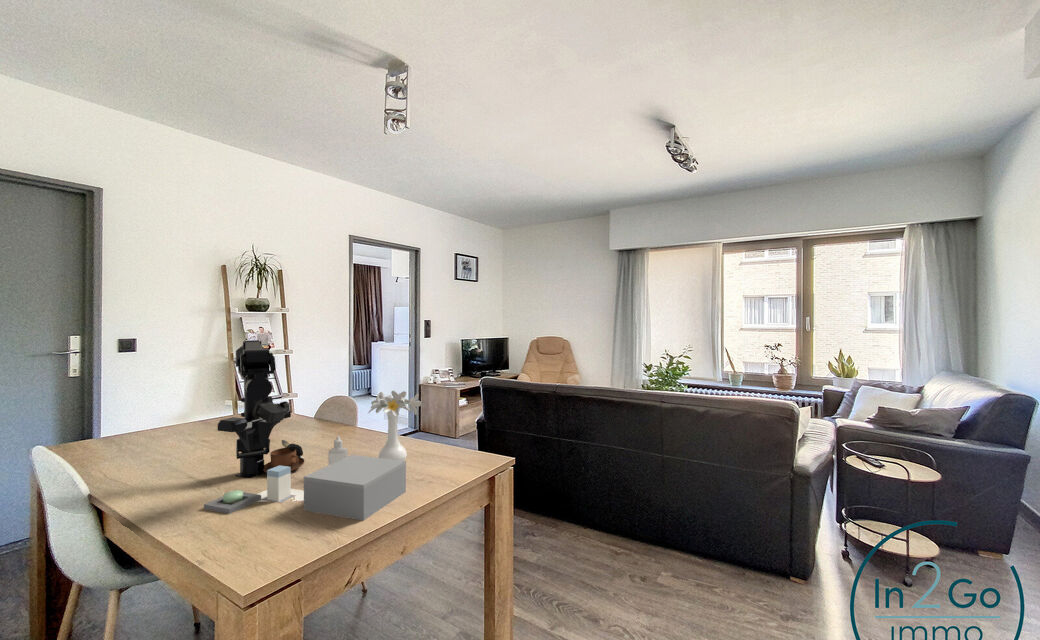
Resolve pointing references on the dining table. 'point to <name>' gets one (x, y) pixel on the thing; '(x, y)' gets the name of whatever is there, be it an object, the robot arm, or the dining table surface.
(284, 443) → the eagle figurine
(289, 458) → the cup and saucer
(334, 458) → the eye dropper bottle
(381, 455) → the flower vase
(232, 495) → the button
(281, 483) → the white blue upright block
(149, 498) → the dining table surface
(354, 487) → the grey rectangular slab
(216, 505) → the button housing
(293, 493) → the paper sheet
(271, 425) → the robot arm
